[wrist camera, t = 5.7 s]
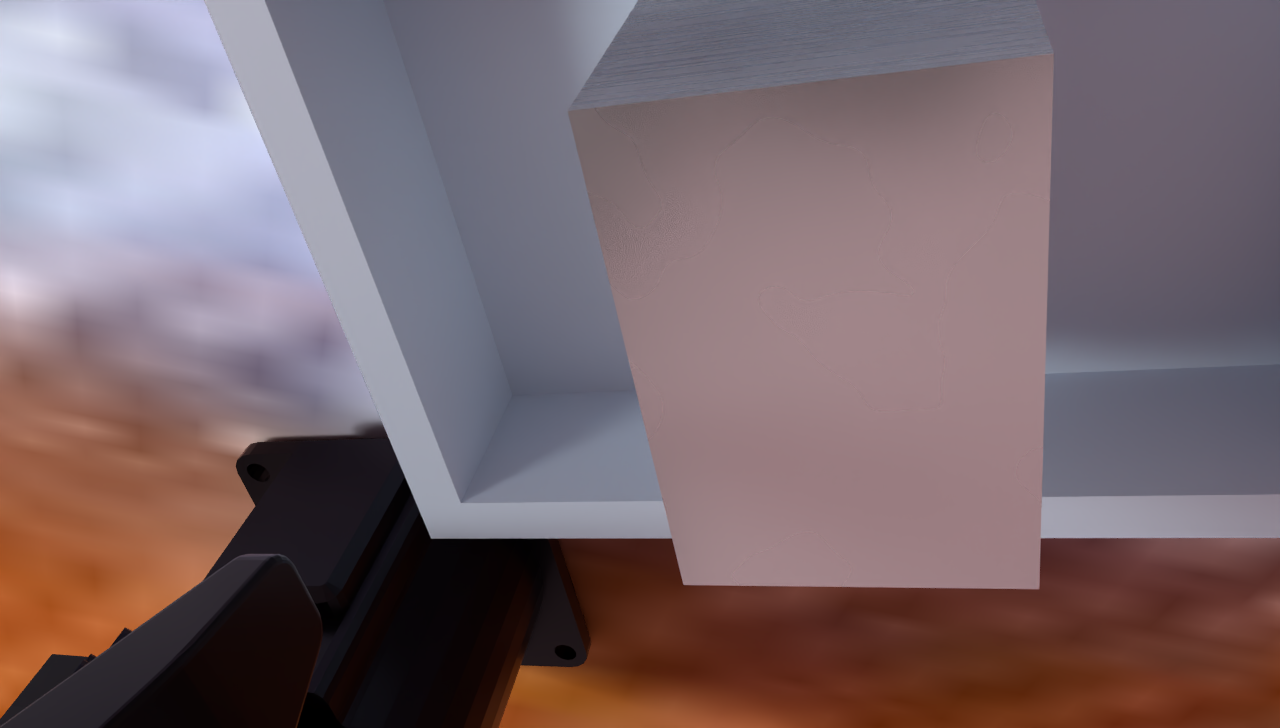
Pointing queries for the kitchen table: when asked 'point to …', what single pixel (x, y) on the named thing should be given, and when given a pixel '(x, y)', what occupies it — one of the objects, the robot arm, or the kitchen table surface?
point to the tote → (583, 302)
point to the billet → (832, 281)
